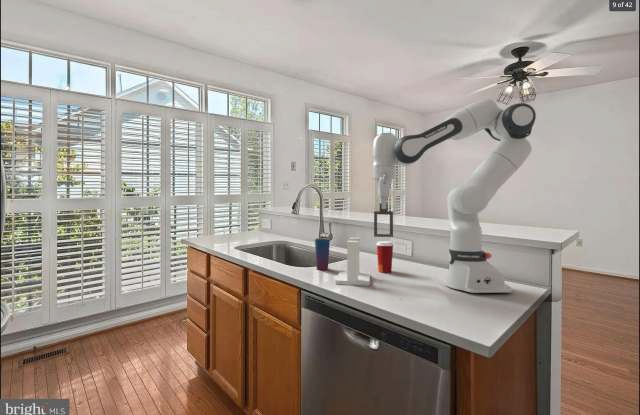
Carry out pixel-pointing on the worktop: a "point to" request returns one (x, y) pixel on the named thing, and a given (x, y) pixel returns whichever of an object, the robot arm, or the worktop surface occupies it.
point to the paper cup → (384, 256)
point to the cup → (322, 253)
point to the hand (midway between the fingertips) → (383, 209)
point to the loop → (382, 211)
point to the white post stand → (353, 267)
